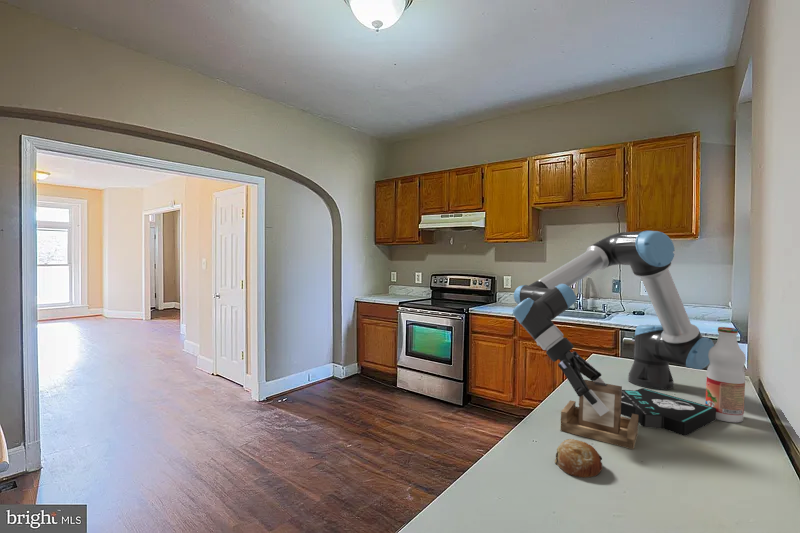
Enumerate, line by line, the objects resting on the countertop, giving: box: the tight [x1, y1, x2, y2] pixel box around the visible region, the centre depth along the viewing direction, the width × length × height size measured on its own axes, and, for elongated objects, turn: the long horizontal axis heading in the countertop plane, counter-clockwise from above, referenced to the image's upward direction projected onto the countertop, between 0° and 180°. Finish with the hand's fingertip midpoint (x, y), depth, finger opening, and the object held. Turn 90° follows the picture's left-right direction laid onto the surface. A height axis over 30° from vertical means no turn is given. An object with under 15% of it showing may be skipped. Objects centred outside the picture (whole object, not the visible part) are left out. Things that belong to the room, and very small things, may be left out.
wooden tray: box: [560, 400, 639, 450], centre depth 114 cm, size 18×11×6 cm, turn 55°
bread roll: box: [554, 438, 603, 478], centre depth 95 cm, size 10×10×8 cm
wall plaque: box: [621, 387, 717, 437], centre depth 128 cm, size 30×4×30 cm
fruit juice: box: [704, 326, 746, 424], centre depth 126 cm, size 9×9×28 cm
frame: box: [578, 379, 623, 434], centre depth 114 cm, size 10×5×12 cm, turn 54°
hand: (609, 405), depth 112 cm, fingers open, 13 cm apart
